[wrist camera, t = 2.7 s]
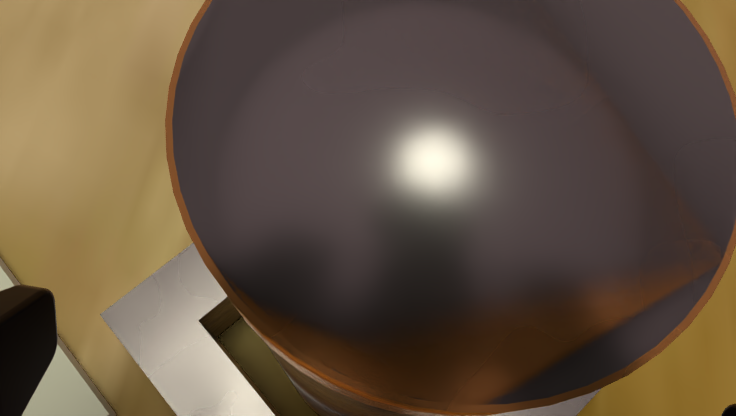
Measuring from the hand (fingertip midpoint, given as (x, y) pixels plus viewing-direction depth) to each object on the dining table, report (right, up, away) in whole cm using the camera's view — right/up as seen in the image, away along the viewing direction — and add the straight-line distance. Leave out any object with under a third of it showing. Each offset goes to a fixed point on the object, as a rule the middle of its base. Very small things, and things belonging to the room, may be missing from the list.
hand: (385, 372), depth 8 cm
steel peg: (0, -2, +9) cm, 9 cm away
